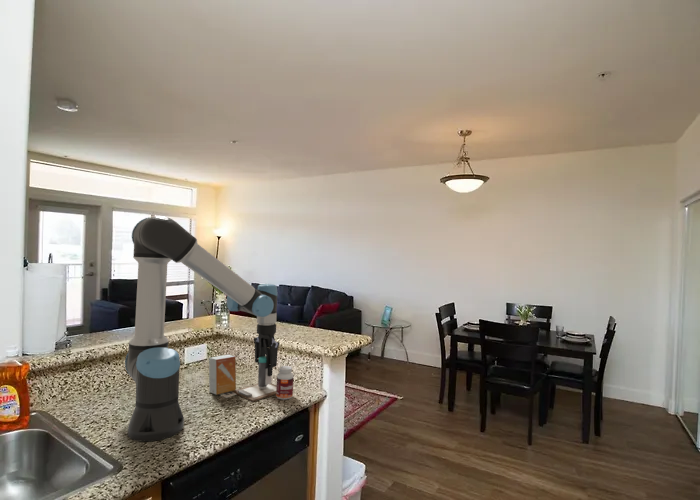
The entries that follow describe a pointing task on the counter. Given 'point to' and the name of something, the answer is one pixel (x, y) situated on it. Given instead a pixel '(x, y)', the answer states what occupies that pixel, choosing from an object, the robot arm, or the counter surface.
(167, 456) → the counter surface
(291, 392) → the pill bottle
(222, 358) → the small box
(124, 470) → the counter surface
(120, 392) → the counter surface
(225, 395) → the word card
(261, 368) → the marker
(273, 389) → the clipboard
